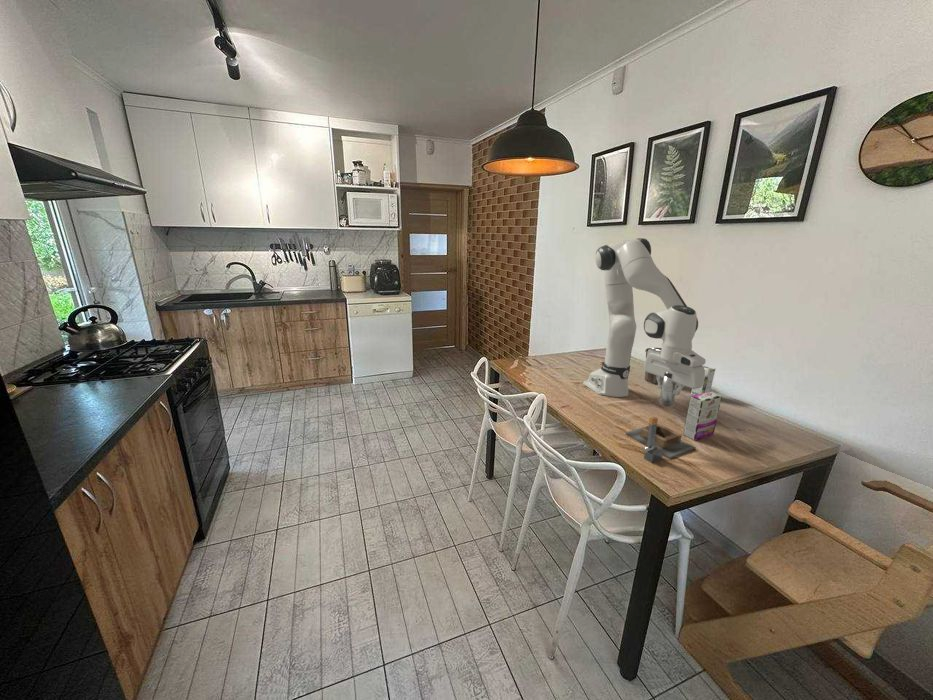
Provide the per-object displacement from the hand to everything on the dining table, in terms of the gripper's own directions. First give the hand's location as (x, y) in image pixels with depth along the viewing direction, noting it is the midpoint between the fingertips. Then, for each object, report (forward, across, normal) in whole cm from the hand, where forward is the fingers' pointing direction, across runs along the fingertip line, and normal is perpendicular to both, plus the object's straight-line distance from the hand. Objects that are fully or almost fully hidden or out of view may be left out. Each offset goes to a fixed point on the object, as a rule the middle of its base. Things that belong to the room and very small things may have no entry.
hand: (668, 391), depth 128 cm
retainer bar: (+16, +5, -12) cm, 20 cm away
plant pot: (+20, -41, +54) cm, 71 cm away
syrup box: (+20, -20, +56) cm, 63 cm away
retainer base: (+20, +6, -12) cm, 24 cm away
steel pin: (+5, 0, 0) cm, 5 cm away
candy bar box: (+20, +3, +18) cm, 27 cm away
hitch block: (+20, 0, 0) cm, 20 cm away
